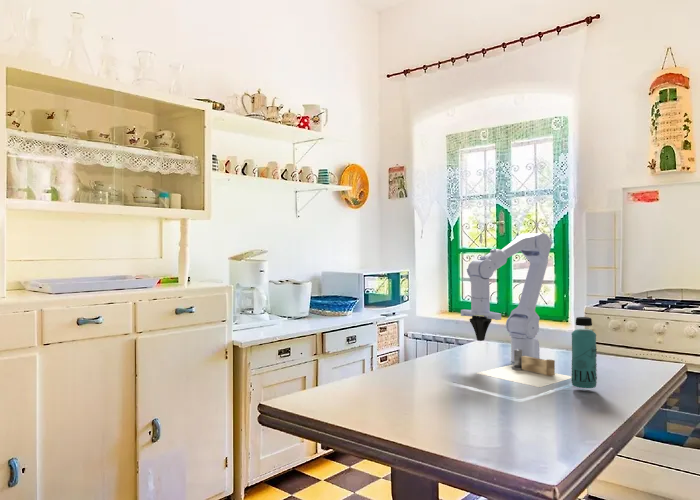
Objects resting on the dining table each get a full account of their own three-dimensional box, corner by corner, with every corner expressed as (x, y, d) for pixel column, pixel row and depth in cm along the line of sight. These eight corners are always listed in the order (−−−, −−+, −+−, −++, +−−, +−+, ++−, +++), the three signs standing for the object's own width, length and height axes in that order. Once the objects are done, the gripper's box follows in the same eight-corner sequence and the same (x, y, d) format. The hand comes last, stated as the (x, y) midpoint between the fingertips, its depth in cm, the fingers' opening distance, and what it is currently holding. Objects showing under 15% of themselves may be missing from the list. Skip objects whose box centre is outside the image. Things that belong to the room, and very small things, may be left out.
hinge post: (516, 369, 175) (516, 348, 175) (527, 371, 172) (527, 350, 172) (509, 371, 173) (508, 349, 173) (519, 373, 170) (519, 351, 170)
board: (511, 367, 179) (511, 364, 178) (575, 379, 161) (575, 377, 161) (475, 375, 167) (475, 373, 167) (540, 390, 150) (540, 387, 150)
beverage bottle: (569, 392, 148) (569, 318, 147) (572, 386, 154) (572, 315, 153) (596, 395, 145) (595, 319, 144) (598, 389, 150) (597, 316, 150)
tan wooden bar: (521, 369, 170) (521, 355, 170) (525, 368, 171) (524, 354, 171) (551, 375, 161) (551, 360, 161) (554, 375, 162) (554, 360, 162)
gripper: (454, 297, 178) (454, 338, 178) (491, 300, 167) (491, 344, 167) (468, 295, 183) (469, 336, 183) (505, 298, 171) (505, 342, 171)
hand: (480, 340), depth 175 cm, fingers closed
